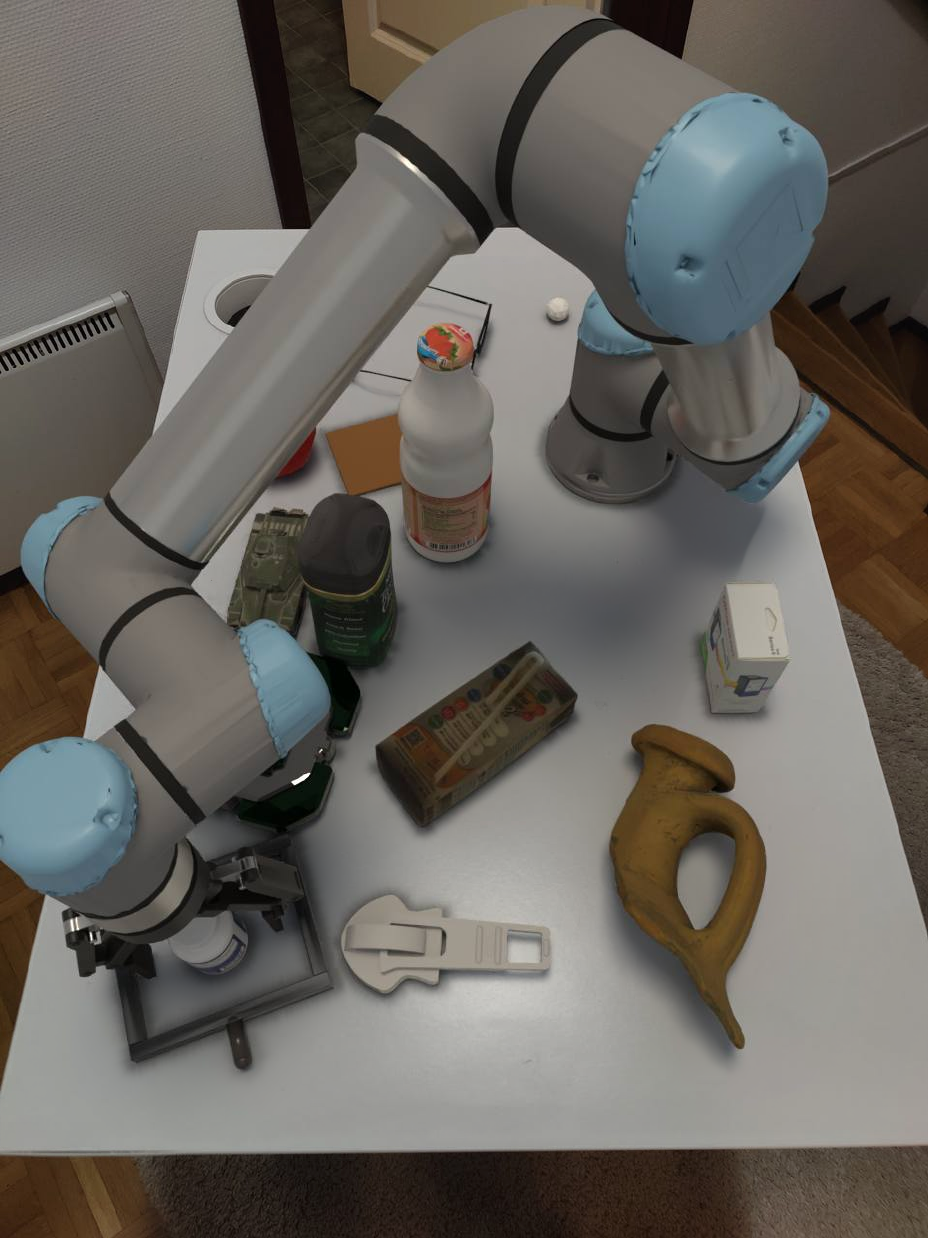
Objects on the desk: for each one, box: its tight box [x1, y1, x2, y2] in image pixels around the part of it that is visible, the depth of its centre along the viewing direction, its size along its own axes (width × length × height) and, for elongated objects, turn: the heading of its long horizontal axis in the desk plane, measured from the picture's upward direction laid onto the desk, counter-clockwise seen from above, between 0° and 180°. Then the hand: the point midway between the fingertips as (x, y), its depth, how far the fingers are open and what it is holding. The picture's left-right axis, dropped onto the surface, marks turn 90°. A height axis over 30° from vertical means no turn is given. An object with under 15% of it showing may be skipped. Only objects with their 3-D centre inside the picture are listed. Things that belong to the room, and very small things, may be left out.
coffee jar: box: [298, 492, 399, 669], centre depth 89 cm, size 10×8×19 cm
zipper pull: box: [340, 894, 551, 995], centre depth 79 cm, size 8×18×4 cm, turn 87°
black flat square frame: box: [114, 832, 334, 1070], centre depth 79 cm, size 17×18×2 cm
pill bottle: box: [167, 911, 249, 975], centre depth 77 cm, size 5×5×10 cm
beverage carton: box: [374, 640, 579, 827], centre depth 88 cm, size 8×19×7 cm, turn 127°
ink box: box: [699, 581, 791, 714], centre depth 89 cm, size 9×5×12 cm, turn 1°
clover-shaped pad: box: [143, 651, 363, 834], centre depth 89 cm, size 18×18×5 cm
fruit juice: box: [397, 322, 495, 563], centre depth 91 cm, size 9×9×28 cm
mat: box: [325, 413, 402, 496], centre depth 109 cm, size 14×10×1 cm
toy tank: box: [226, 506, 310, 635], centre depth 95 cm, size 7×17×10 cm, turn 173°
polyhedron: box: [546, 296, 570, 322], centre depth 119 cm, size 3×3×3 cm
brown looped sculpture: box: [608, 723, 768, 1050], centre depth 79 cm, size 18×13×22 cm
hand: (213, 939), depth 79 cm, fingers open, 10 cm apart
